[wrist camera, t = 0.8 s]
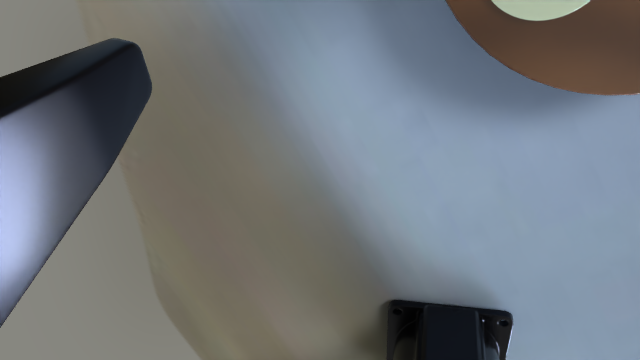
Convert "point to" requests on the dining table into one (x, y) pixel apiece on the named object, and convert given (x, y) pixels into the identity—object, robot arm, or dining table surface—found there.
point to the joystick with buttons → (560, 40)
